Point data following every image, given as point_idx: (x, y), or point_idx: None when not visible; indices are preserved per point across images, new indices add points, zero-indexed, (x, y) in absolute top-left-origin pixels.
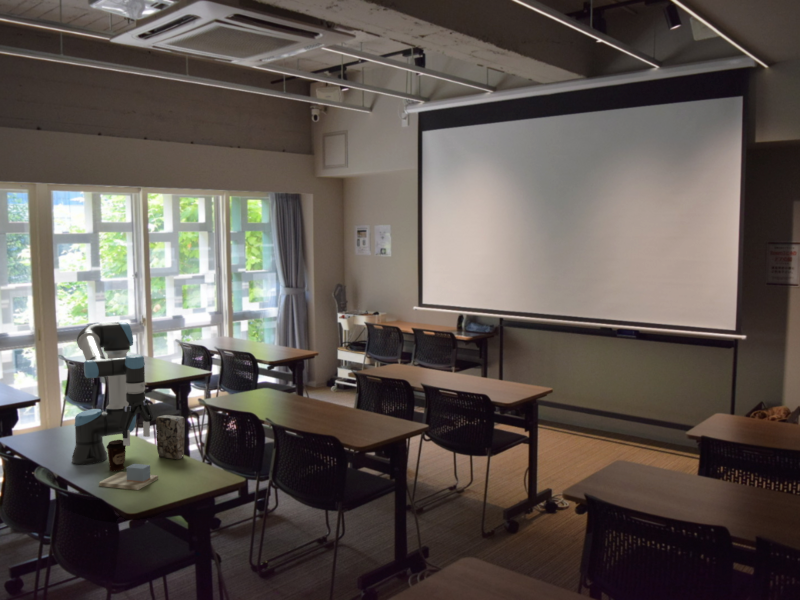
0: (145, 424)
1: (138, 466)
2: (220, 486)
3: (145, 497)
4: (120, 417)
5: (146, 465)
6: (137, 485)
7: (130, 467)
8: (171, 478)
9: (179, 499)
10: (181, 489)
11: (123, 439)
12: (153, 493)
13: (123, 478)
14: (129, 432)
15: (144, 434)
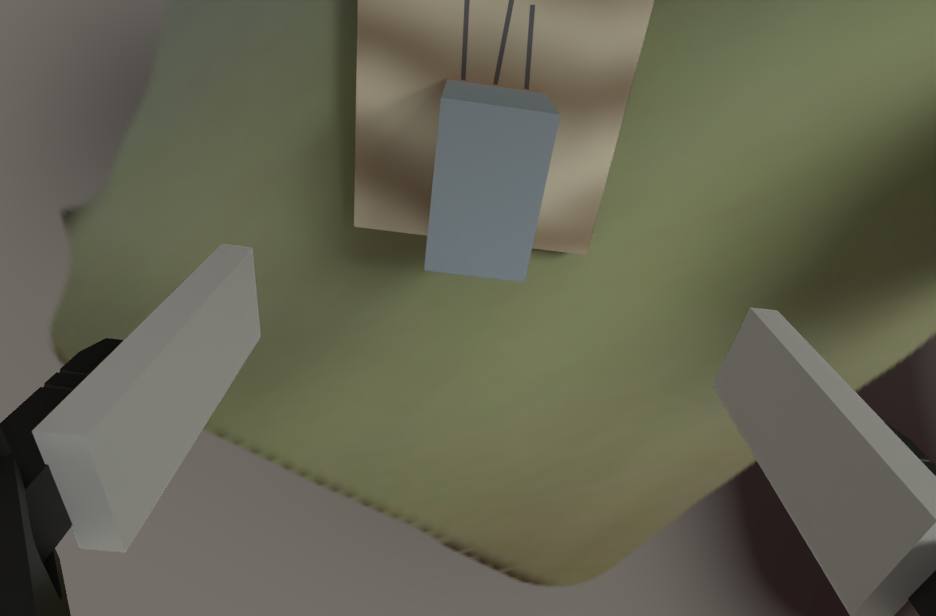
0: (853, 511)
1: (477, 205)
2: (488, 547)
3: (262, 315)
4: None
5: (512, 258)
6: (370, 213)
7: (439, 144)
8: (592, 319)
9: (294, 465)
10: (421, 429)
11: (173, 298)
12: (331, 328)
13: (501, 10)
14: (141, 505)
15: (758, 343)
